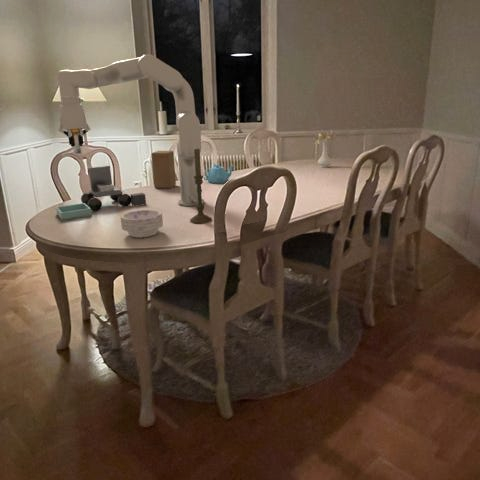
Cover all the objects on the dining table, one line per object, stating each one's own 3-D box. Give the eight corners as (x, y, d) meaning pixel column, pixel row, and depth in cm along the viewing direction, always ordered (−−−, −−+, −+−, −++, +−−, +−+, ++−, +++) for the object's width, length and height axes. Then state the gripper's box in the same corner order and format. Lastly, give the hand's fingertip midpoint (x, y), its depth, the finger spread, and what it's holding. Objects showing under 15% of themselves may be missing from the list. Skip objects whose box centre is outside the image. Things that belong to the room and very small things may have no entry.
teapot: (200, 183, 253) (199, 165, 250) (215, 178, 265) (214, 162, 262) (221, 185, 246) (220, 167, 243) (235, 180, 258) (234, 163, 255)
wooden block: (170, 188, 240) (167, 152, 233) (153, 188, 242) (150, 152, 235) (176, 185, 249) (173, 150, 243) (160, 185, 251) (157, 150, 245)
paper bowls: (149, 225, 172) (148, 206, 170) (171, 233, 162) (169, 213, 159) (115, 234, 163) (112, 214, 160) (136, 243, 152) (133, 222, 149)
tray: (91, 216, 189) (90, 208, 188) (62, 220, 183) (60, 212, 182) (85, 210, 199) (84, 203, 198) (57, 214, 193) (55, 207, 192)
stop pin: (83, 153, 186) (80, 129, 183) (73, 154, 185) (70, 129, 181) (81, 152, 190) (78, 128, 186) (72, 153, 188) (68, 129, 185)
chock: (146, 204, 207) (145, 194, 206) (134, 206, 204) (132, 195, 203) (143, 202, 211) (142, 192, 209) (131, 204, 208) (130, 194, 206)
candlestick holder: (203, 225, 171) (199, 149, 162) (185, 222, 176) (180, 148, 166) (216, 219, 179) (213, 146, 169) (198, 216, 183) (194, 145, 174)
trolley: (132, 205, 205) (128, 168, 199) (89, 212, 195) (83, 173, 189) (122, 199, 217) (118, 164, 212) (81, 205, 208) (76, 168, 202)
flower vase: (308, 168, 293) (309, 130, 285) (323, 164, 306) (325, 128, 297) (324, 170, 284) (326, 131, 276) (339, 166, 297) (341, 129, 289)
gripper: (88, 101, 187) (94, 144, 193) (48, 102, 179) (55, 146, 185) (92, 101, 181) (98, 145, 187) (51, 102, 173) (58, 148, 179)
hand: (76, 145), depth 186 cm, fingers closed on stop pin, 3 cm apart
